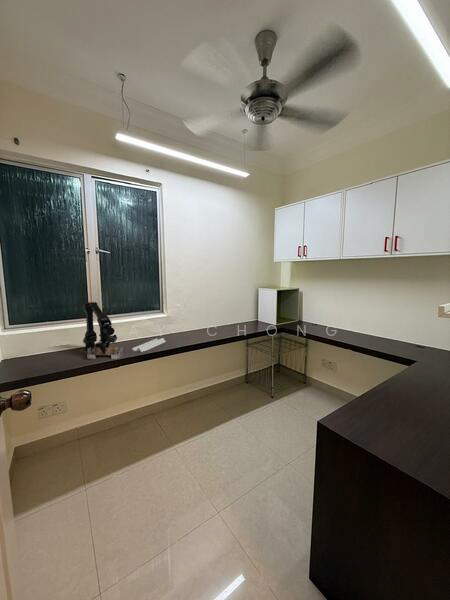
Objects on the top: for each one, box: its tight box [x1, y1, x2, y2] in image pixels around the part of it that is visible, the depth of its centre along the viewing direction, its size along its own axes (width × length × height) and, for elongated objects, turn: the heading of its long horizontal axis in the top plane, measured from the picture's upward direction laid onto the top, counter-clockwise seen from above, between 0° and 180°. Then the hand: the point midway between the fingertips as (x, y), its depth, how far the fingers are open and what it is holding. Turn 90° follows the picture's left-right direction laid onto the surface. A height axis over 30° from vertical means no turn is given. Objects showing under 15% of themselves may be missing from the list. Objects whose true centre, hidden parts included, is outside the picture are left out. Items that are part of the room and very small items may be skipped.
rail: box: [91, 346, 119, 356], centre depth 189 cm, size 18×4×5 cm, turn 90°
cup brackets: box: [87, 346, 124, 360], centre depth 189 cm, size 25×8×7 cm, turn 92°
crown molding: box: [130, 337, 167, 353], centre depth 216 cm, size 31×12×4 cm, turn 156°
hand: (105, 352), depth 189 cm, fingers closed on rail, 4 cm apart
